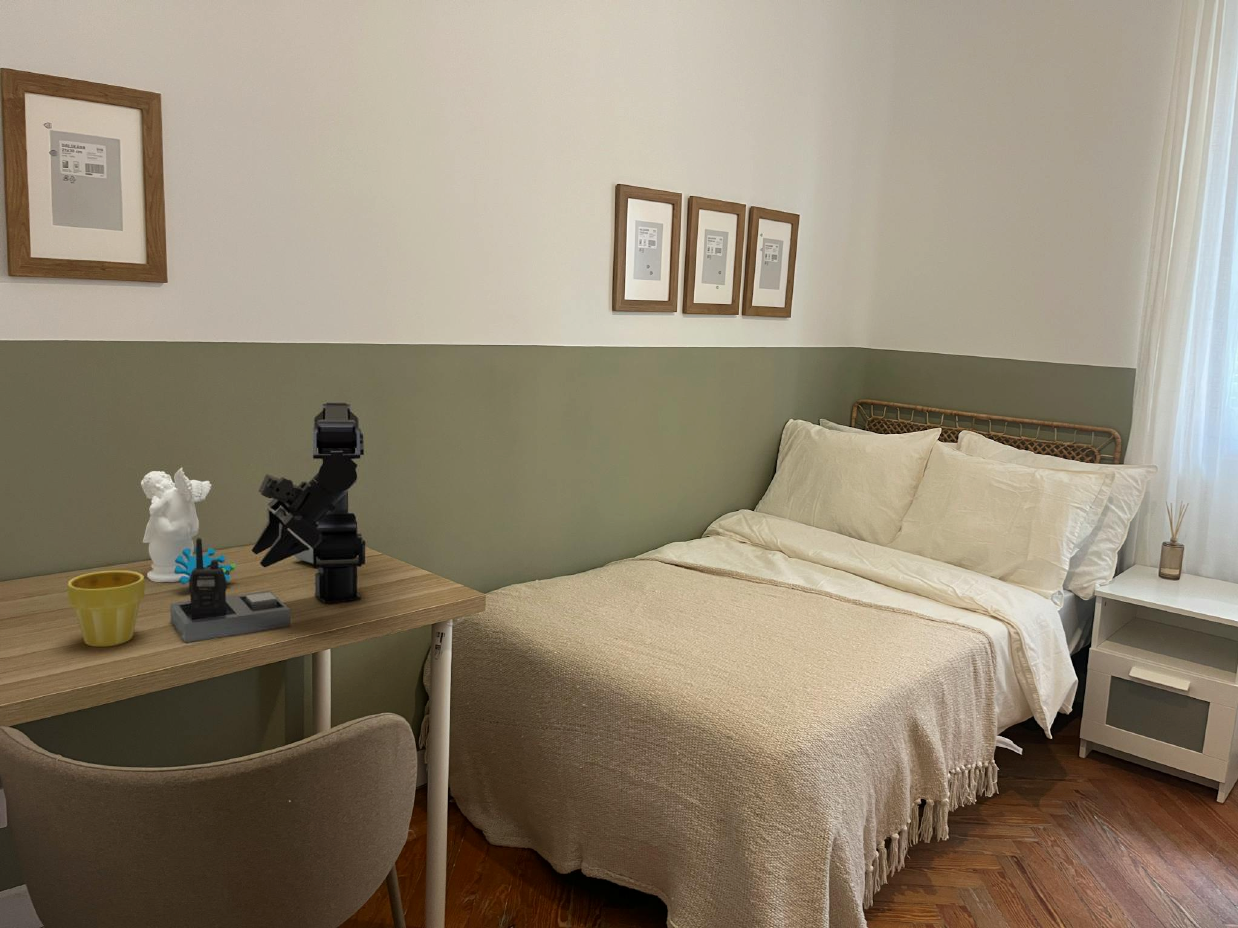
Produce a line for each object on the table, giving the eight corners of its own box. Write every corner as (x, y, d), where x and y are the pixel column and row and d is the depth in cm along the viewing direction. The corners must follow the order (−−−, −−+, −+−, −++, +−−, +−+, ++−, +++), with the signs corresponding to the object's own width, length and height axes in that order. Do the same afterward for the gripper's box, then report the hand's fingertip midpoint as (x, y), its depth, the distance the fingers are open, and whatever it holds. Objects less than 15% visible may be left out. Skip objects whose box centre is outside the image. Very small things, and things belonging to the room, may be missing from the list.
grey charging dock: (270, 606, 164) (269, 590, 163) (290, 626, 154) (289, 608, 154) (170, 620, 155) (170, 603, 154) (185, 642, 145) (184, 623, 144)
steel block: (270, 614, 160) (270, 592, 159) (277, 621, 157) (276, 598, 156) (246, 618, 158) (245, 595, 157) (252, 625, 154) (252, 601, 154)
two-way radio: (188, 630, 150) (185, 540, 148) (194, 621, 155) (191, 533, 152) (225, 629, 152) (222, 539, 149) (230, 620, 156) (227, 533, 154)
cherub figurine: (137, 575, 180) (131, 462, 177) (200, 564, 189) (196, 457, 186) (165, 587, 172) (159, 470, 169) (229, 575, 182) (226, 463, 179)
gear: (181, 590, 166) (171, 543, 171) (170, 607, 169) (161, 561, 174) (243, 588, 174) (232, 543, 178) (231, 605, 177) (221, 560, 181)
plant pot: (135, 650, 141) (133, 587, 139) (60, 652, 139) (56, 589, 137) (154, 627, 151) (152, 569, 149) (84, 630, 149) (81, 570, 147)
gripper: (279, 450, 163) (213, 516, 159) (299, 466, 147) (226, 540, 143) (326, 492, 168) (263, 557, 164) (350, 511, 152) (281, 584, 148)
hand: (257, 558), depth 155 cm, fingers open, 9 cm apart
